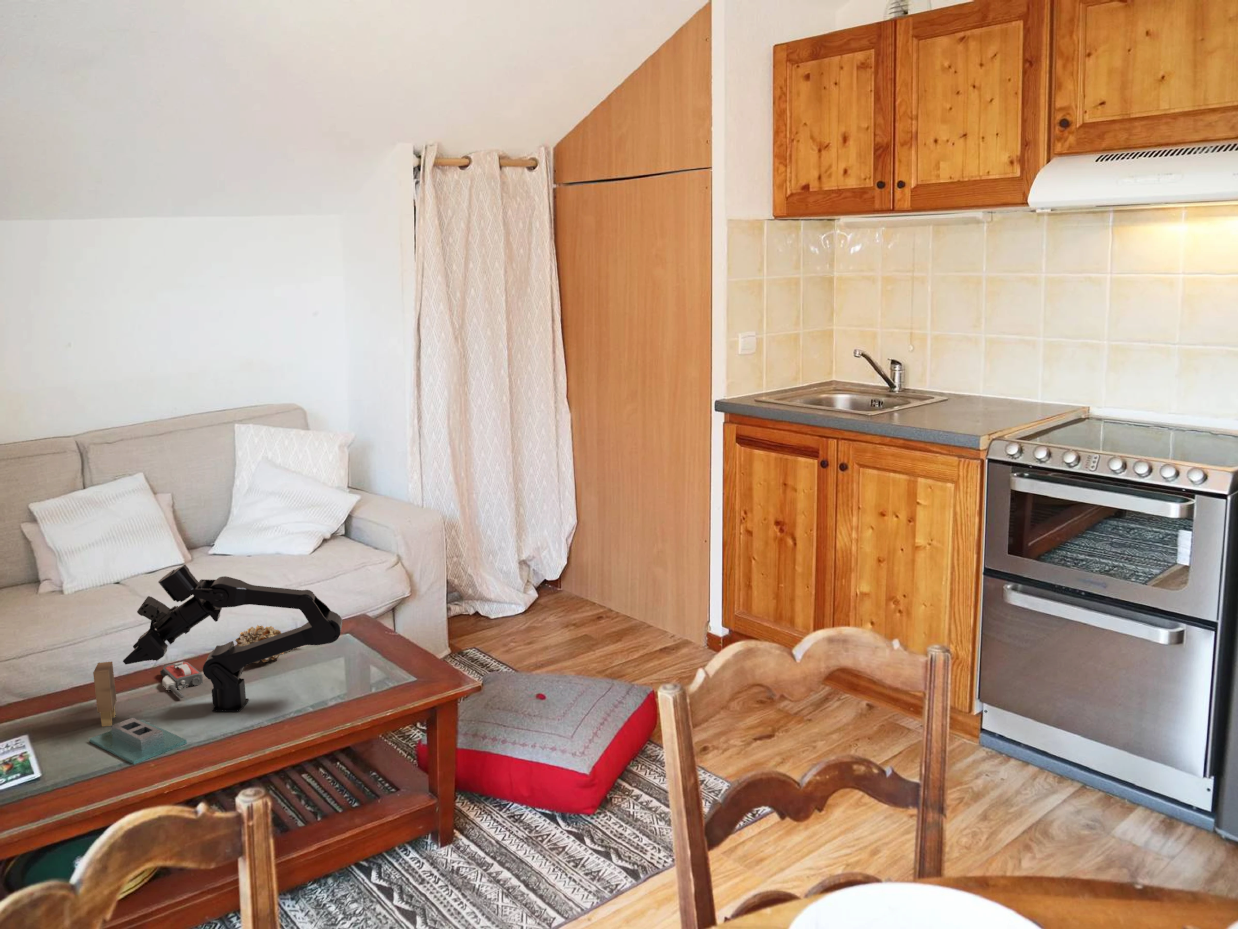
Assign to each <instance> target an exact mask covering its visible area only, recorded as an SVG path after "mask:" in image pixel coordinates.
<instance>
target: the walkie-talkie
mask: <svg viewBox="0 0 1238 929" xmlns="http://www.w3.org/2000/svg"><path fill="white" fill-rule="evenodd" d="M159 672H160V673H159V674H160V675H161V676H162V677H163V678H162V680H161V682H162V687H163V686H164V687H165V688H166V689H165V688H164V687H163V688H164V689H165V690H171V691H170V692H172V693H174V694H175V695H176V696H177V697H178V698H181V699H183V698H184V694H183V693H182V692H181V691H179V690H182V689H181V688H183V687H186V688H189V687H188V686H190V687H194V686H198V685H201V683H202V684H203V683H204V678H203V677H204V676H203V673H201V672H200V671H199V670H198V669H197V668H196V667H194V666H193V665H192V664H191V663H189V662H187V661H183V660H182V661H179V662H174V663H170V664H166V665H164V666H163V667H162V669H160V671H159ZM193 685H194V686H193ZM176 688H177V689H179V690H177V689H176ZM183 689H184V688H183Z"/></svg>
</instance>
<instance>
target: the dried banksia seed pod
mask: <svg viewBox="0 0 1238 929" xmlns="http://www.w3.org/2000/svg"><path fill="white" fill-rule="evenodd" d="M281 633H282V632H281V630H279V629H275V627H273V626H272V625H270V626H266V627H265V626H263V625H258V624H257V625H256V627H254V626H250V628H247V630H244V631H243V632H242V631H241V632H239V634H240V635H238V637H237V638H235V642H236V645H235V644H234V646H246V645H249V644H252V643H254V642H257V641H260V640H263V639H266V638H269V637H272V636H275V635H278V634H281ZM284 653H285V652H283V653H280V654H277V655H274V656H272V657H269V658H266V659H263V660H260V661H261V662H262V663H268V662H269V661H270V660H271V661H274V660H276V659H279V658H280V655H284ZM260 661H257V662H254V663H253V664H258V663H260Z"/></svg>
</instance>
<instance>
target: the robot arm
mask: <svg viewBox="0 0 1238 929" xmlns="http://www.w3.org/2000/svg"><path fill="white" fill-rule="evenodd" d="M157 583H158V584H159V585H160V586H161V588H162V589H163V590H164V591H165V592H166V593H167V594H168V597H170V598H171V599H172V600H173V602H176V603H179V602H180V603H182V602H183V603H182V604H180V605H179V606H178V605H174V606H172V607H171V608H170V607H168V606H167V605H166V604H165V603H163V602H161V601H159V600H158V599H156V598H154V597H152V596H150V595H148V596H146V598H145V600H144V601H143V602H142V603H141V605H140V607H139V608H138V609H137V610H136V613H137V614H138V615H140V616H141V617H144V618H146V619H148V620H150V624H149V629H148V630H147V631H145V632H143V634H142V635H140V636H139V638H138V639H137V641H136V642H135V643H134V644H133V645H132V647H133V650H131V651H130V653H128V655H126V657H125V658H124V659H123V660H122V663H123V664H125V665H130V664H137V663H141V662H148V661H156V662H157V661H159V660H161V659H162V658H164V657H165V655H166V653H167V651H168V648H169V646H168V644H169V645H172V644H174V642H175V641H176V640H177V638H180V637H181V636H182V635H184V634H185V635H186V634H188V633H189V632H190V631H191V629H192V628H194V627H195V626H196V625H198V624H200V623H201V622H203V621H204V620H206V619H207V618H209V617H210V618H212V620H213V621H214V622H218V621H219V620H220V617H221V611H222V608H223V609H224V608H236V607H241V606H249V605H252V606H262V607H263V606H264V607H273V608H285V609H292V610H293V609H294V610H299V611H301V613H302V614H303V615H304V617H305V619H306V621H307V622H306V623H305V624H303V625H301V626H300V627H296V628H294V629H291V630H287V631H285V632H281V634H278V635H275V636H272V637H269V638H266V639H263V640H260V641H257V642H254V643H252V644H249V645H246V646H235V644H234V641H233V640H232V641H229V642H227V643H224V644H222V645H216V646H215V648H214V649H212V651H210V653H209V654H208V656H207V659H206V660H205V662H204V664H203V667H202V672H203V673H202V674H203V675H204V676H205V678H207V679H208V680H209V681H210V682H211V683H212V687H213V688H211V700H212V706H213V707H212V709H211V712H213V713H214V712H222V713H223V712H232V713H233V712H240V711H241V710H242V709H244V707H245V706H246V705H247V703H248V702H249V701H250V699H249V698H247V696H246V695H247V694H246V682H245V678H242V677H241V676H242V674H243V671H244V669H245V667H246V666H248V665H250V664H255V663H254V662H257V661H262V660H263V659H266V658H269V657H272V656H274V655H277V654H280V653H283V652H284V653H286V652H289V651H292V650H294V649H298V648H300V647H304V646H321V645H328V644H333V643H334V642H336V641H337V640H338V639H339V637H340V635H341V632H342V627H343V619H342V617H341V616H340V615H339V614H338V613H337V612H335V611H333V610H331V609H330V607H328V606H327V605H326V604H325V603H324V602H323V601H322V600H320V598H319V597H318V596H317V595H316V594H315V592H313V591H312V590H309V589H293V588H283V587H276V586H275V587H273V586H263V585H255V584H250V583H247V582H245V581H244V580H241V579H237V578H234V577H231V576H226V575H225V576H219V577H218V578H217V579H203V578H202V579H199V580H198V579H197V578H196V577H195V576H194V574H193V573H192V572H191V571H190V569H189V567H188V566H187V565H186V564H183V565H181V566H179V567H178V568H175V569H172V570H170V572H168V573H167V574H166V575H164V576H162V577H161V578H160V579H159V580H158V582H157ZM192 595H193V596H192ZM187 599H188V600H187ZM184 601H185V602H184ZM166 641H167V642H168V644H167V643H166ZM280 655H281V654H280Z"/></svg>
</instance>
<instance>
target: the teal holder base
mask: <svg viewBox="0 0 1238 929" xmlns="http://www.w3.org/2000/svg"><path fill="white" fill-rule="evenodd" d="M187 741H188V740H187V739H185V738H184V737H181V736H178V735H176V734H174V733H172V732H170V731H168V730H166V729H163V728H162V727H159V726H157V725H155V724H152V723H150V722H149V721H146V720H144V719H143V718H141V719H136V718H135V717H131V718H128V719H125V720H123V721H120V722H117V723H114V724H112V725H111V726H110V730H109V731H107V732H106V731H105V732H104V733H101V734H98V735H95V736H93V737H90V738H89V743H91V744H93V745H95V746H97V747H99V748H101V749H102V750H105V751H107V752H109V753H110V754H113V755H115V756H116V757H119V758H120V759H123V760H124V761H126V762H128V763H131V764H132V765H137V764H138V763H141V762H143V761H147V760H149V759H151V758H154V757H156V756H159V755H161V754H163V753H166V752H168V751H171V750H174V749H176V748H178V747H181V746H184V745H186V744H187V743H188V742H187Z"/></svg>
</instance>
